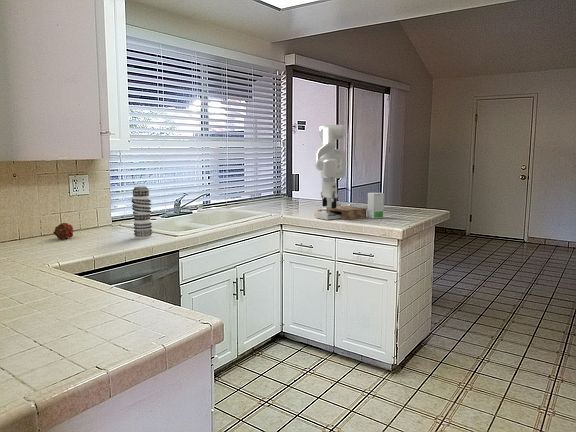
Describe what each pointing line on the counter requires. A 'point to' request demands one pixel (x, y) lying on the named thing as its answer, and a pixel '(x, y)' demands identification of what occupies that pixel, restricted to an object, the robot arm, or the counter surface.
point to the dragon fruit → (63, 231)
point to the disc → (330, 214)
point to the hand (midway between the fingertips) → (329, 207)
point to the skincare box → (375, 205)
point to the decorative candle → (141, 212)
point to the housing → (348, 212)
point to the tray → (326, 216)
